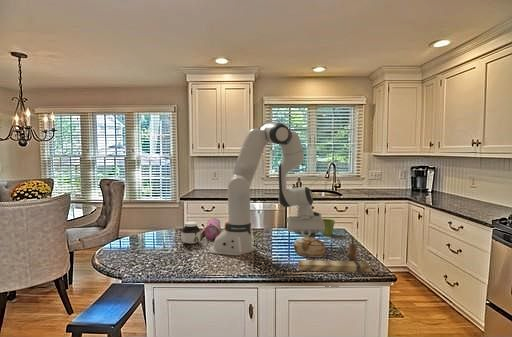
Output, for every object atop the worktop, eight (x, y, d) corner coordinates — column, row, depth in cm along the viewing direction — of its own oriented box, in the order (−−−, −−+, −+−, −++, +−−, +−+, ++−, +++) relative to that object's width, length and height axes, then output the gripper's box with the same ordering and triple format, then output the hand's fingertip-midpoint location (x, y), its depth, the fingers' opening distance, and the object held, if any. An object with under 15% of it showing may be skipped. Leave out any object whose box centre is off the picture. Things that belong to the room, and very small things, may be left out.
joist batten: (298, 270, 136) (298, 264, 136) (298, 265, 142) (298, 259, 142) (370, 272, 134) (370, 266, 134) (367, 267, 140) (367, 261, 140)
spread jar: (185, 246, 172) (185, 225, 171) (176, 242, 180) (176, 221, 180) (205, 242, 179) (205, 222, 179) (195, 238, 188) (195, 219, 187)
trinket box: (291, 250, 166) (292, 235, 166) (320, 249, 167) (320, 234, 167) (297, 258, 153) (297, 242, 152) (328, 257, 154) (328, 241, 153)
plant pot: (336, 236, 193) (336, 222, 192) (321, 236, 193) (321, 222, 193) (333, 232, 202) (333, 219, 202) (318, 232, 202) (318, 219, 202)
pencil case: (219, 239, 186) (218, 224, 186) (203, 239, 186) (203, 224, 185) (221, 230, 208) (221, 217, 207) (207, 231, 207) (206, 217, 207)
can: (317, 233, 201) (317, 222, 200) (301, 235, 195) (301, 224, 194) (304, 229, 211) (304, 219, 211) (290, 231, 205) (290, 221, 205)
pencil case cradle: (198, 239, 186) (197, 234, 186) (207, 230, 209) (207, 225, 209) (220, 240, 185) (220, 234, 185) (227, 230, 208) (227, 226, 208)
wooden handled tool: (349, 263, 145) (350, 237, 144) (348, 261, 148) (348, 236, 147) (356, 263, 145) (356, 237, 144) (354, 261, 148) (355, 236, 147)
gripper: (286, 213, 177) (286, 235, 168) (324, 213, 176) (326, 235, 166) (286, 219, 182) (286, 241, 173) (322, 220, 180) (325, 241, 171)
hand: (306, 238), depth 170 cm, fingers closed
